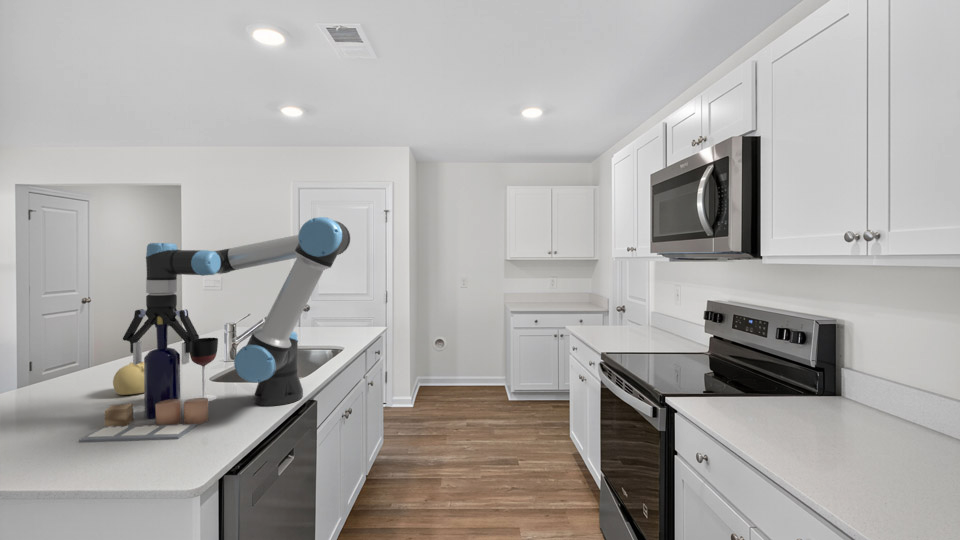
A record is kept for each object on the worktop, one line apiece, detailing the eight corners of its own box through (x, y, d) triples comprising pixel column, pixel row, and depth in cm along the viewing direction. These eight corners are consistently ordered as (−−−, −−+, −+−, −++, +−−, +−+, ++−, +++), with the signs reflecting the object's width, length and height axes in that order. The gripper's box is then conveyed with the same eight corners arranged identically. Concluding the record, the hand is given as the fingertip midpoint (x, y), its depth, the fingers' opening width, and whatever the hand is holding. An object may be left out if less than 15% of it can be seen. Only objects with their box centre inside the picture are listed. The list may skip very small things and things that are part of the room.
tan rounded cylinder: (212, 417, 133) (212, 397, 133) (201, 424, 127) (201, 403, 127) (190, 417, 132) (190, 397, 132) (179, 425, 126) (179, 404, 126)
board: (196, 425, 126) (196, 423, 126) (178, 438, 117) (178, 435, 117) (104, 428, 123) (104, 425, 123) (79, 442, 114) (79, 439, 114)
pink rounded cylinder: (185, 418, 131) (185, 398, 131) (174, 426, 125) (173, 405, 125) (163, 419, 130) (163, 399, 130) (151, 427, 124) (150, 406, 124)
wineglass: (183, 401, 147) (182, 341, 146) (207, 393, 155) (207, 337, 154) (199, 404, 144) (199, 343, 143) (224, 396, 152) (223, 338, 151)
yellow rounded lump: (162, 391, 157) (162, 361, 157) (121, 400, 147) (120, 368, 147) (148, 386, 163) (147, 357, 163) (107, 394, 153) (107, 363, 153)
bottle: (162, 420, 130) (161, 318, 129) (135, 418, 131) (134, 317, 130) (188, 409, 139) (187, 314, 138) (163, 407, 140) (162, 313, 139)
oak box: (133, 420, 130) (132, 403, 130) (126, 426, 125) (126, 408, 125) (112, 422, 128) (111, 405, 128) (104, 428, 123) (104, 410, 123)
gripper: (211, 293, 139) (211, 360, 140) (125, 292, 136) (125, 360, 137) (199, 295, 132) (198, 366, 132) (108, 294, 129) (108, 366, 129)
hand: (161, 363), depth 134 cm, fingers open, 13 cm apart
